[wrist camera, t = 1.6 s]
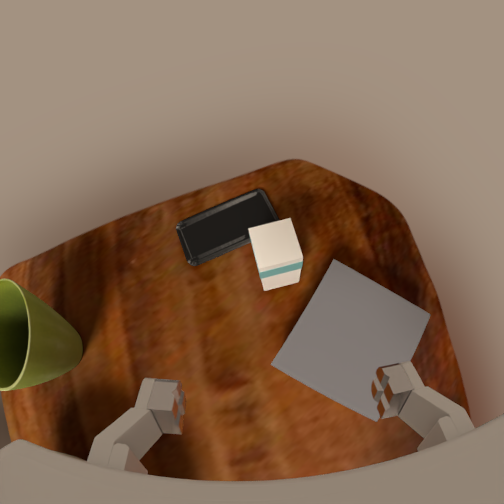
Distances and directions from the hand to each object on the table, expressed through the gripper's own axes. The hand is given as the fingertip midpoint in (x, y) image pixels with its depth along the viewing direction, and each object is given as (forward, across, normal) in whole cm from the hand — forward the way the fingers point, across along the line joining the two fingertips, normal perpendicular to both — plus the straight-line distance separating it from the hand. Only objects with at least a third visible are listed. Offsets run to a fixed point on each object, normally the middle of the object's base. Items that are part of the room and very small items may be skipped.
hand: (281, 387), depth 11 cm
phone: (+36, +4, +7) cm, 37 cm away
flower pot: (+23, +32, +22) cm, 45 cm away
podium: (+21, -12, +18) cm, 30 cm away
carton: (+30, -3, +11) cm, 32 cm away
